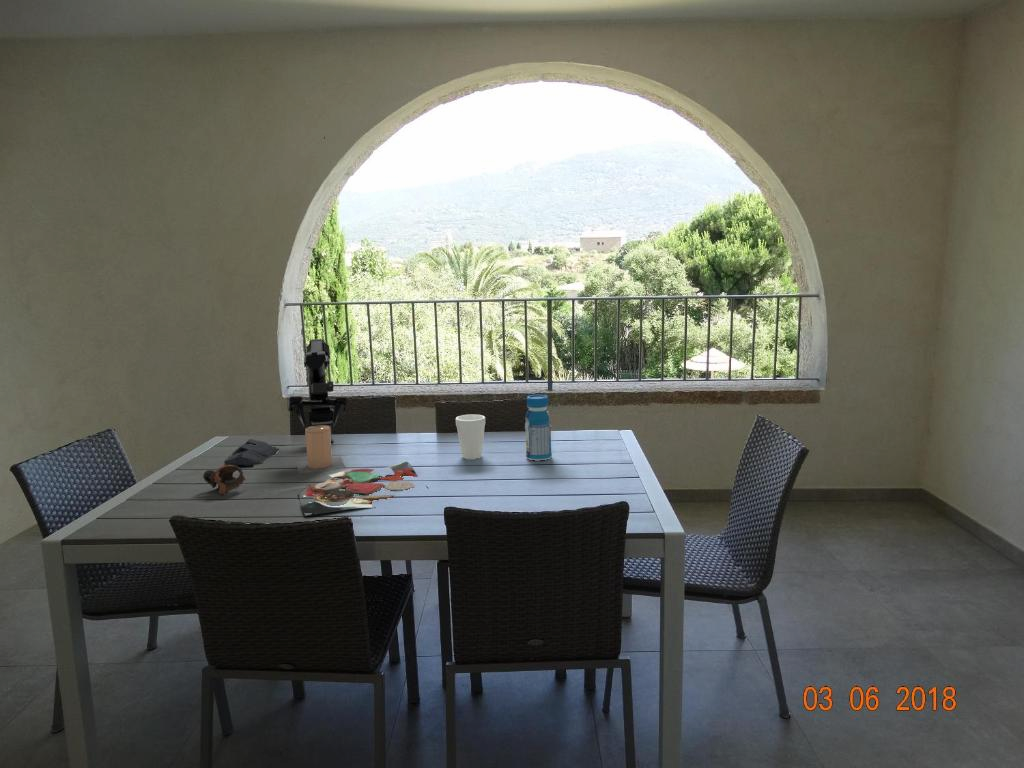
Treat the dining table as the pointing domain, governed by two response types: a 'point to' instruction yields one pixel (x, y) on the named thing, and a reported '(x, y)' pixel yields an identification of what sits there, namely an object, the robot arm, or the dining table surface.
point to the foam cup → (471, 435)
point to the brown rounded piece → (224, 478)
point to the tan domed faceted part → (318, 446)
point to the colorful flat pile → (356, 488)
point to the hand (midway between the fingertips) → (319, 426)
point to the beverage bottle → (538, 428)
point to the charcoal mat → (304, 468)
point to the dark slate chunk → (251, 454)
